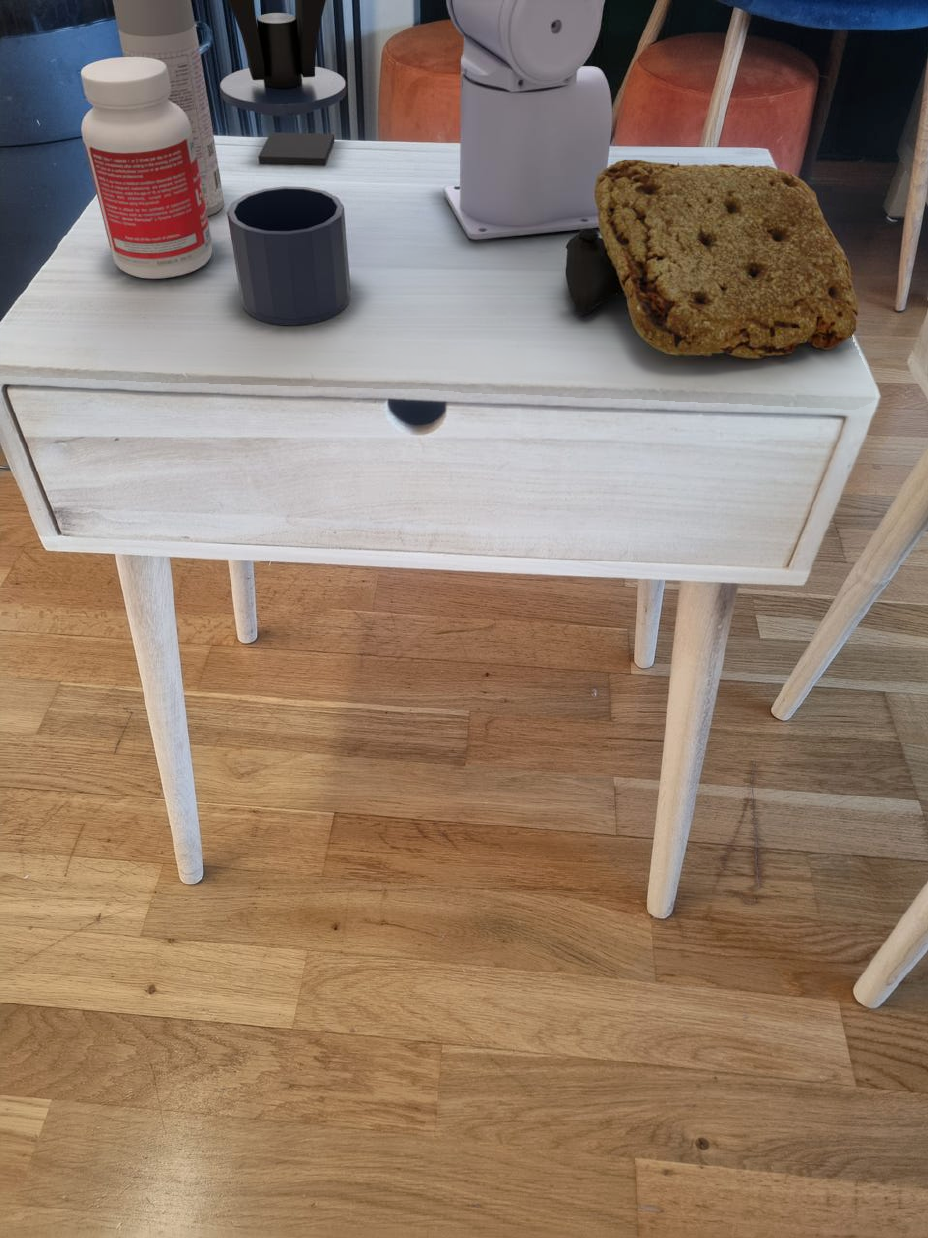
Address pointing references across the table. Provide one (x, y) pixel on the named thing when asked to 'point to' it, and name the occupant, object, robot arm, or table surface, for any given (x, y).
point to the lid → (282, 75)
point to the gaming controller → (590, 272)
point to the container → (176, 73)
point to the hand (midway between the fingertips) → (282, 73)
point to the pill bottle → (144, 169)
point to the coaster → (297, 148)
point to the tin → (290, 254)
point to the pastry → (724, 259)
